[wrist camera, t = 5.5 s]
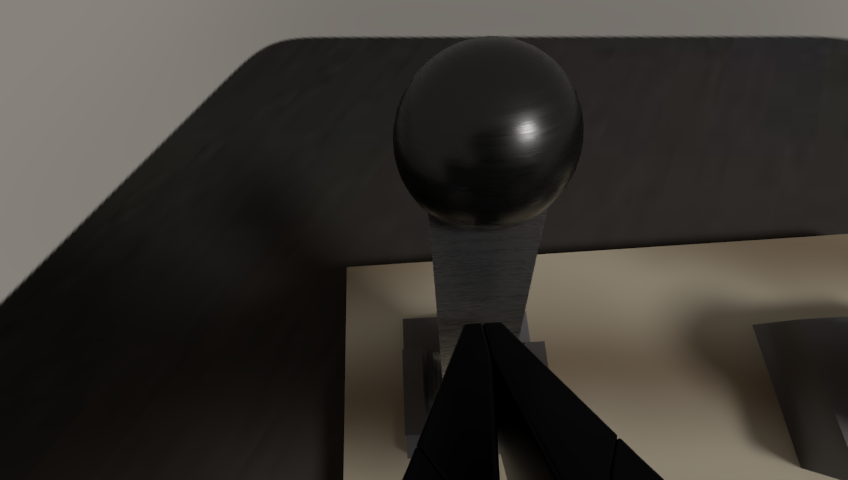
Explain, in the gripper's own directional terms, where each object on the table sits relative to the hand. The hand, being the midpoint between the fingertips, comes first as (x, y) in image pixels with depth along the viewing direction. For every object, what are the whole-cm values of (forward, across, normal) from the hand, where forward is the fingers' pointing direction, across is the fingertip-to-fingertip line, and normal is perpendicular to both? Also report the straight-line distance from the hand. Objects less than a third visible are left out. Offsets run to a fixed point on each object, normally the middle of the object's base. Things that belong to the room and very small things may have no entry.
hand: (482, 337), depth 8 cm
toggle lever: (+3, 0, +5) cm, 6 cm away
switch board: (+5, -7, +7) cm, 11 cm away
